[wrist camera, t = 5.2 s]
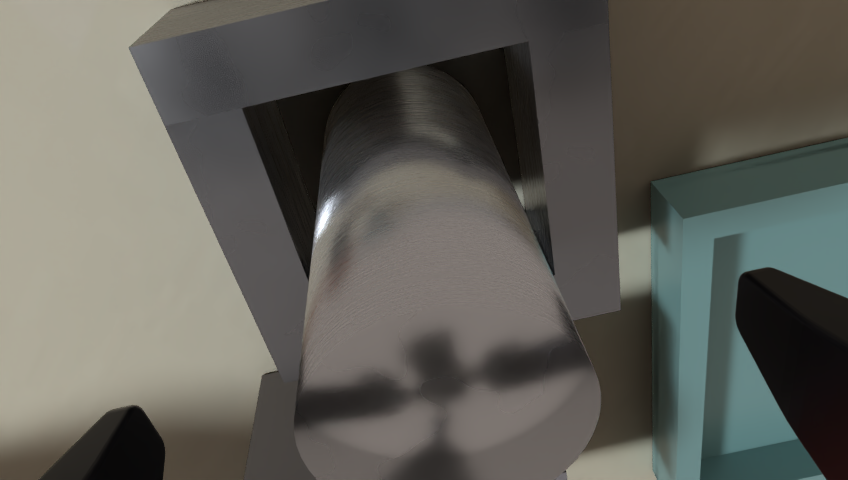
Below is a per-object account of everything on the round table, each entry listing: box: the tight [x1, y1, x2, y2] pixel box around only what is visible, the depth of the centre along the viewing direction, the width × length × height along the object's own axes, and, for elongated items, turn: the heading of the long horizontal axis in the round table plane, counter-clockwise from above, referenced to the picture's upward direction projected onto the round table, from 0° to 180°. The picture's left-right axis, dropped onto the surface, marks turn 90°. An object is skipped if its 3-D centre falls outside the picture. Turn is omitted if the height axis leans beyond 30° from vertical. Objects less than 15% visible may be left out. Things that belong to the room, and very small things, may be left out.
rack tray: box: [651, 138, 848, 480], centre depth 19 cm, size 13×10×2 cm
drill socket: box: [129, 0, 621, 383], centre depth 14 cm, size 8×8×3 cm
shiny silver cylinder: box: [294, 65, 601, 480], centre depth 12 cm, size 4×4×9 cm
